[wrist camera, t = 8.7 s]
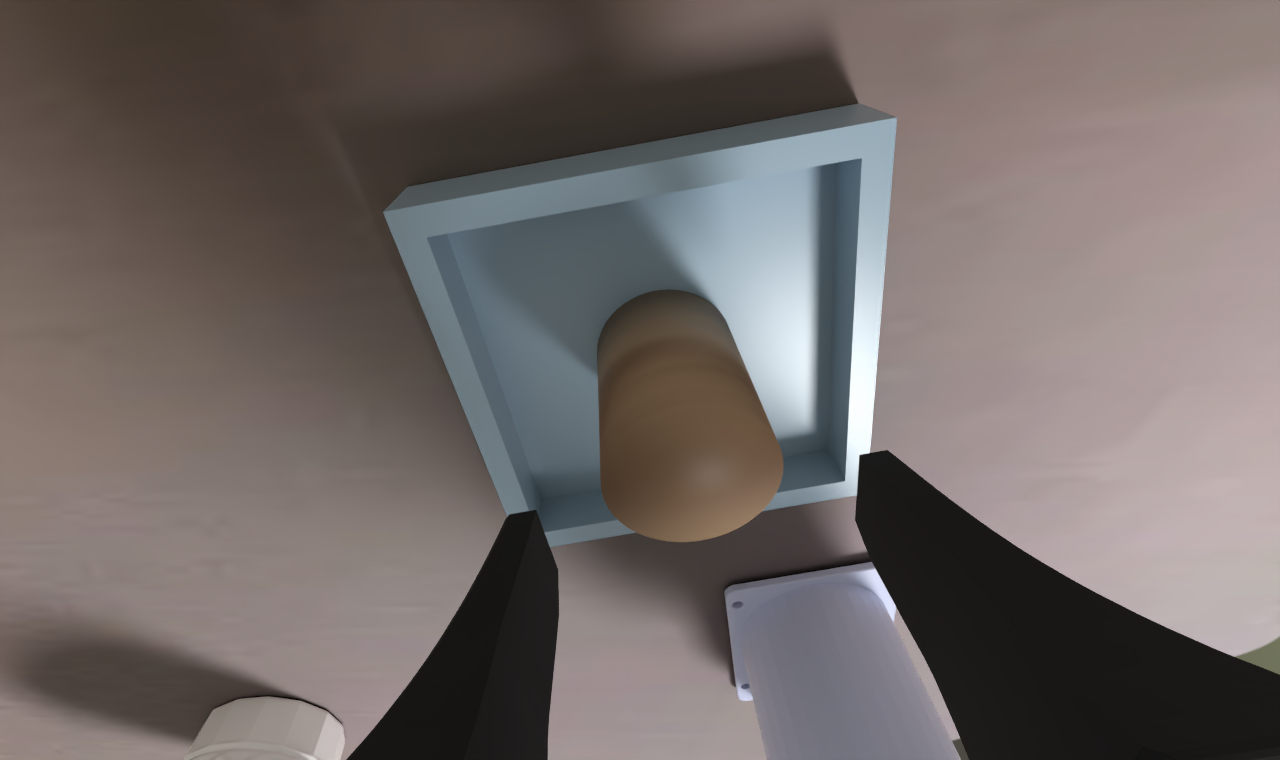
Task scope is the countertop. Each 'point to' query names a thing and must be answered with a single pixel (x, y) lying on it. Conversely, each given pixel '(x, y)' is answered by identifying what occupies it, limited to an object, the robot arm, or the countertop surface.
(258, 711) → the white cup
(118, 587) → the countertop surface
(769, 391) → the light blue square tray
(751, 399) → the tan rounded cylinder
